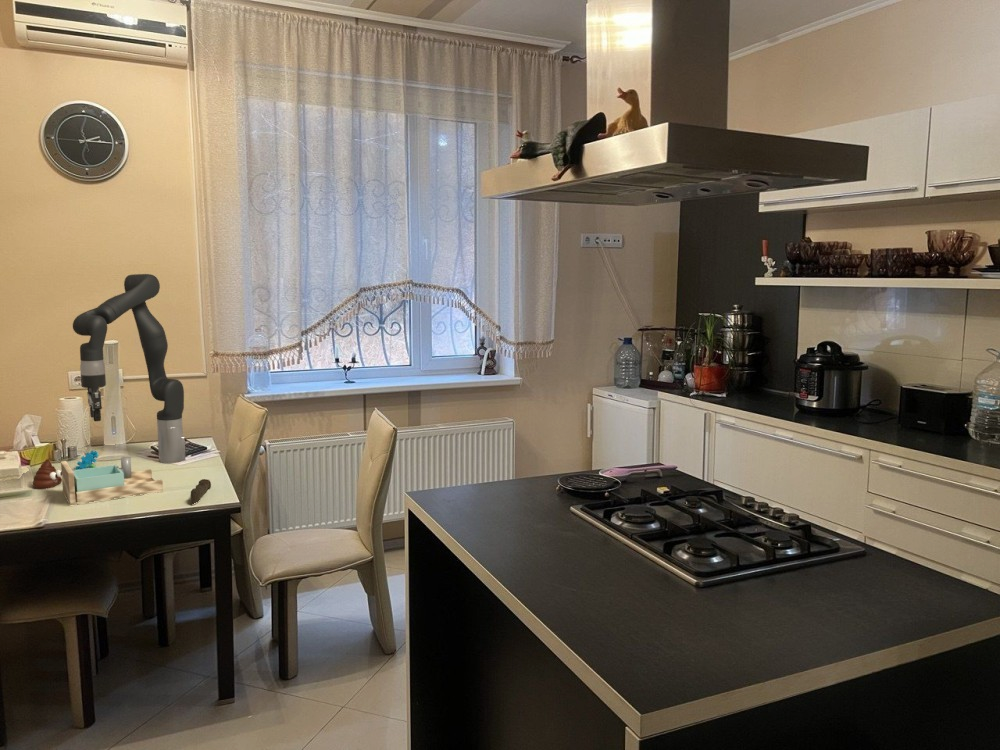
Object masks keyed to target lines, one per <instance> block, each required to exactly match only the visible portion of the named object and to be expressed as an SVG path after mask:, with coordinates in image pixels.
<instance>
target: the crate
mask: <svg viewBox="0 0 1000 750" xmlns="http://www.w3.org/2000/svg"><path fill="white" fill-rule="evenodd" d="M131 460H132V459H131V456H123V457H121V458H120V466H121V467H119V466H118V465H117V464H112V465H111V464H110V465H104V466H96V467H95V468H87V469H80V470H76V469H72V471H73V472H74V485H75V495H76V492H81V491H88V490H95V489H102V488H108V487H115V486H122V485H124V479H129V478H131V477H132V474H131V472H132V461H131Z"/></svg>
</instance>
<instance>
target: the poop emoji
mask: <svg viewBox="0 0 1000 750" xmlns="http://www.w3.org/2000/svg"><path fill="white" fill-rule="evenodd" d="M32 483H33V485H34V487H33V488H34V489H36V490H37V489H38V490H46V488H47V489H51V488H54V487H56V486H57V485H60V484H61V483H62V471H61V469H56V468H55V466H54V465H52V462H51V460H50V459H48V458H46V460H44V461H43V462H42V464H41V465H40V467H38V468H37V470H36V472H35V475H34V477H33V481H32ZM33 485H32V486H33Z"/></svg>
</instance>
